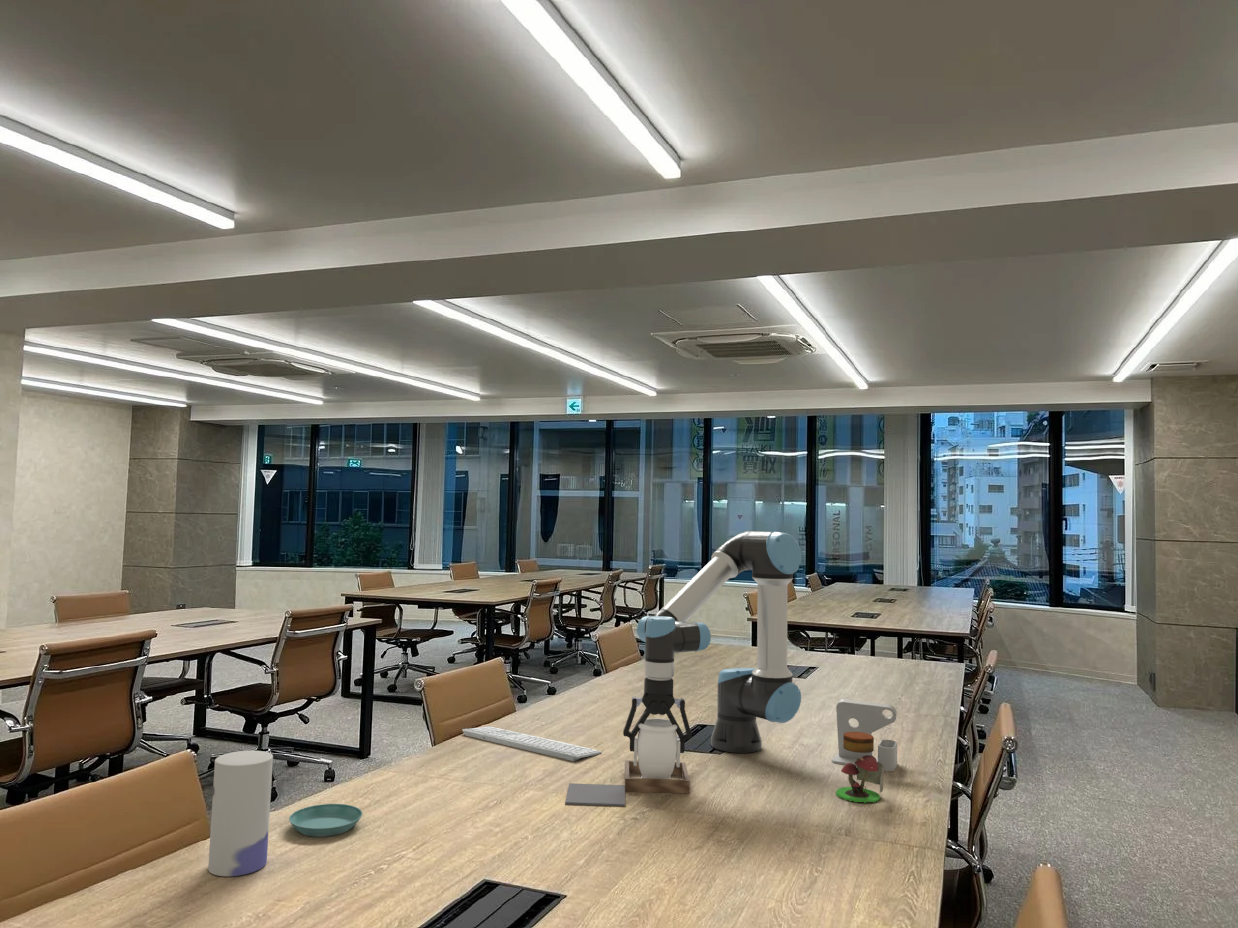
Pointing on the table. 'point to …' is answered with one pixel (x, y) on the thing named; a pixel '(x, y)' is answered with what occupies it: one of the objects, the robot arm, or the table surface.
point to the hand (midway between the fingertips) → (656, 764)
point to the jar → (656, 748)
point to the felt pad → (595, 794)
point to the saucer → (325, 819)
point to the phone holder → (865, 730)
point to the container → (240, 813)
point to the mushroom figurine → (861, 769)
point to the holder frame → (657, 780)
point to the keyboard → (531, 743)
